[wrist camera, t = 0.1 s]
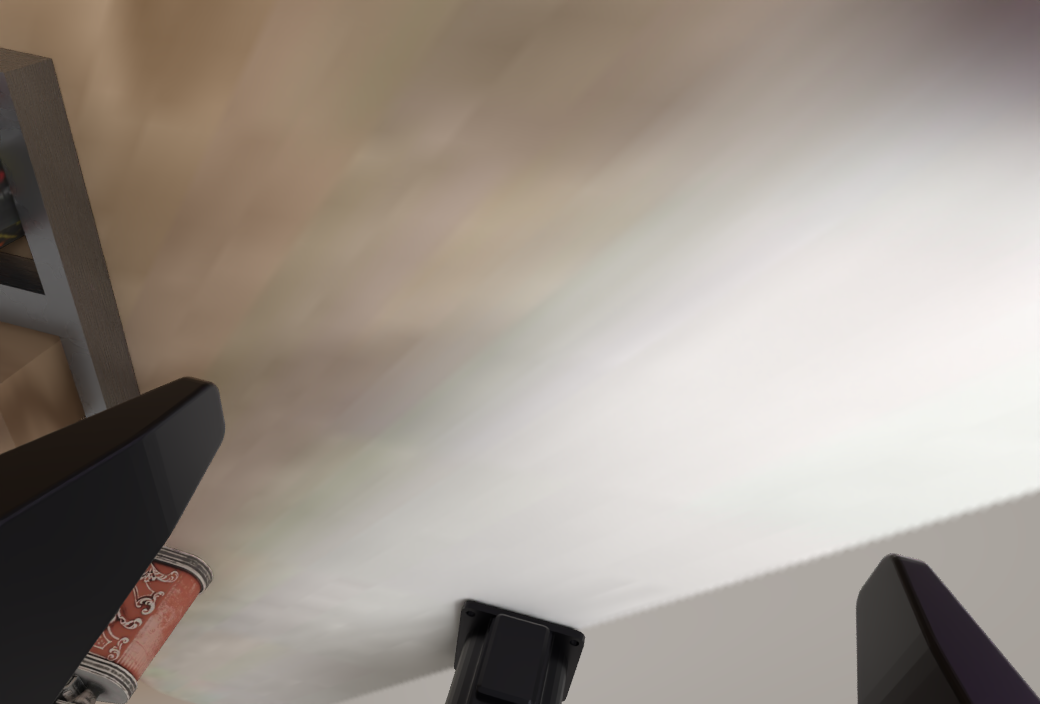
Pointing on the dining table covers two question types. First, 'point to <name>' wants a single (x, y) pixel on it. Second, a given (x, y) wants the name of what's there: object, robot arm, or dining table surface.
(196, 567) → the lighter
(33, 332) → the walnut block
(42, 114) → the grey tray
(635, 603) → the dining table surface
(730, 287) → the dining table surface
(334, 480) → the dining table surface
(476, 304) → the dining table surface
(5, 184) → the deodorant
